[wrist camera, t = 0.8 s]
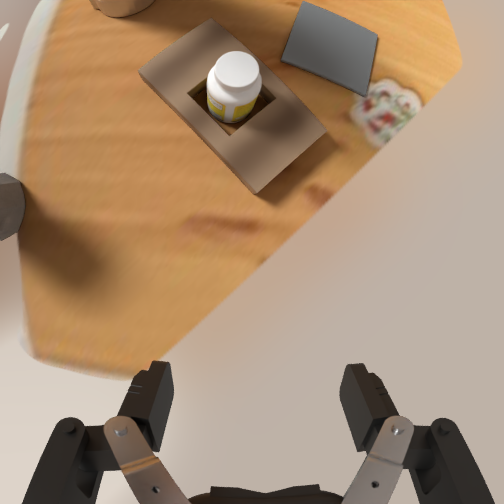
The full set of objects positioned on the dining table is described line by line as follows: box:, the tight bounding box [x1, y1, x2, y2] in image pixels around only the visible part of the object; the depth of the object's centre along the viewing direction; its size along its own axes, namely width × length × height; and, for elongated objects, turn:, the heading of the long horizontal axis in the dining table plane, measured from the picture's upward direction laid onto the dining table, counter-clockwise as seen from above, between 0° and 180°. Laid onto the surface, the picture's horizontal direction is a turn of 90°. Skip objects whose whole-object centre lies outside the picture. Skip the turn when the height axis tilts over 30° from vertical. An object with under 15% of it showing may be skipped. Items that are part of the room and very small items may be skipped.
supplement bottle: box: [207, 51, 262, 123], centre depth 28 cm, size 5×5×10 cm
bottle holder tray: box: [138, 18, 327, 194], centre depth 31 cm, size 20×11×3 cm, turn 43°
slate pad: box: [281, 1, 378, 96], centre depth 33 cm, size 12×12×1 cm
